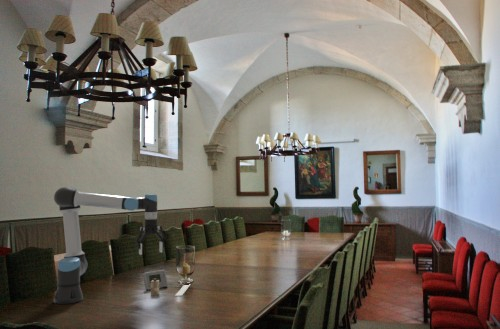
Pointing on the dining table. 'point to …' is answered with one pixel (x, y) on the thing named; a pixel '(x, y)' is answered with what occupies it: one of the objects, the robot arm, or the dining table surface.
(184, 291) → the lath
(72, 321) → the dining table surface
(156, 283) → the tan wooden block
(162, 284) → the digital clock
